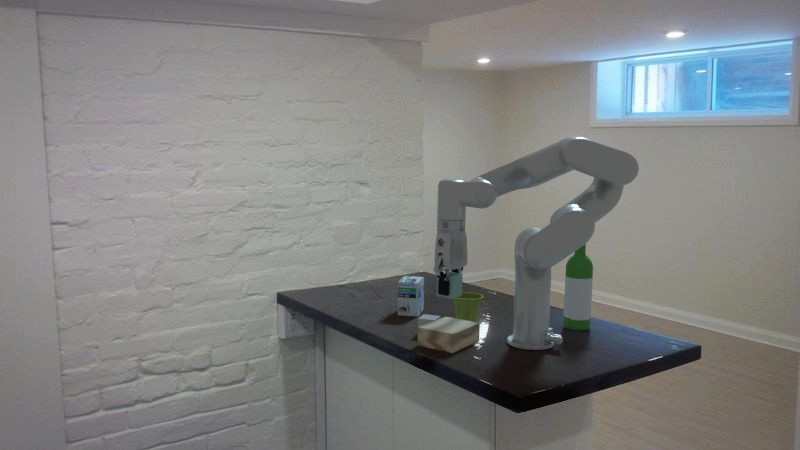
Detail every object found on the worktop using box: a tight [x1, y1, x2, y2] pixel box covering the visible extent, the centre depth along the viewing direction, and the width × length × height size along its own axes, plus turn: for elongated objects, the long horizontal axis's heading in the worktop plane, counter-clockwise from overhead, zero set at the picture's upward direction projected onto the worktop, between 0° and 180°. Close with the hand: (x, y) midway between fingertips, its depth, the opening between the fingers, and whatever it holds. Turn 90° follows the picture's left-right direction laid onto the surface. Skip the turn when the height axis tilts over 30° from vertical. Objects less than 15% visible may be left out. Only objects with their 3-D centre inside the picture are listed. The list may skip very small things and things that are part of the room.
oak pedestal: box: [417, 316, 481, 354], centre depth 191 cm, size 11×14×5 cm
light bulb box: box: [397, 275, 425, 318], centre depth 223 cm, size 11×7×11 cm, turn 168°
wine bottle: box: [562, 243, 594, 332], centre depth 206 cm, size 8×8×30 cm
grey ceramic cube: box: [417, 313, 441, 328], centre depth 200 cm, size 5×5×5 cm
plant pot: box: [452, 291, 484, 323], centre depth 211 cm, size 9×9×9 cm
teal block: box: [435, 271, 463, 300], centre depth 189 cm, size 5×5×6 cm
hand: (449, 292), depth 190 cm, fingers closed on teal block, 5 cm apart
